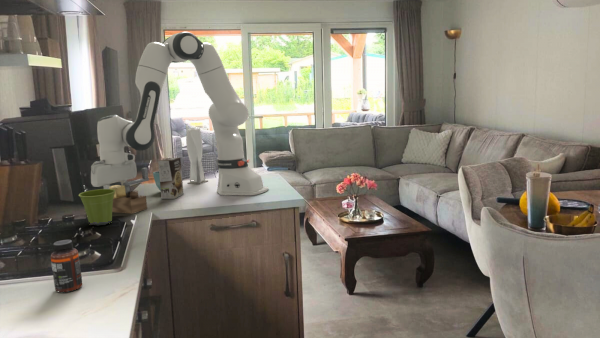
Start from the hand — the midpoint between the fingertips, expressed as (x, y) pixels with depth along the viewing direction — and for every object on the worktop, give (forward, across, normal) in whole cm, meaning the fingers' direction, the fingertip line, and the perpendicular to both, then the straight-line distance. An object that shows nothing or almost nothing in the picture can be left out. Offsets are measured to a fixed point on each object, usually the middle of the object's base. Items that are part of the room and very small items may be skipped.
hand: (116, 193), depth 203 cm
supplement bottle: (+6, -66, -51) cm, 84 cm away
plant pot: (+6, -19, -11) cm, 23 cm away
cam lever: (+1, +4, -6) cm, 8 cm away
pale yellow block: (+1, 0, 0) cm, 1 cm away
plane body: (+6, 0, -4) cm, 7 cm away
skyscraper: (+6, +55, +4) cm, 56 cm away
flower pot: (+6, +34, +4) cm, 35 cm away
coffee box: (+6, +25, -6) cm, 26 cm away
